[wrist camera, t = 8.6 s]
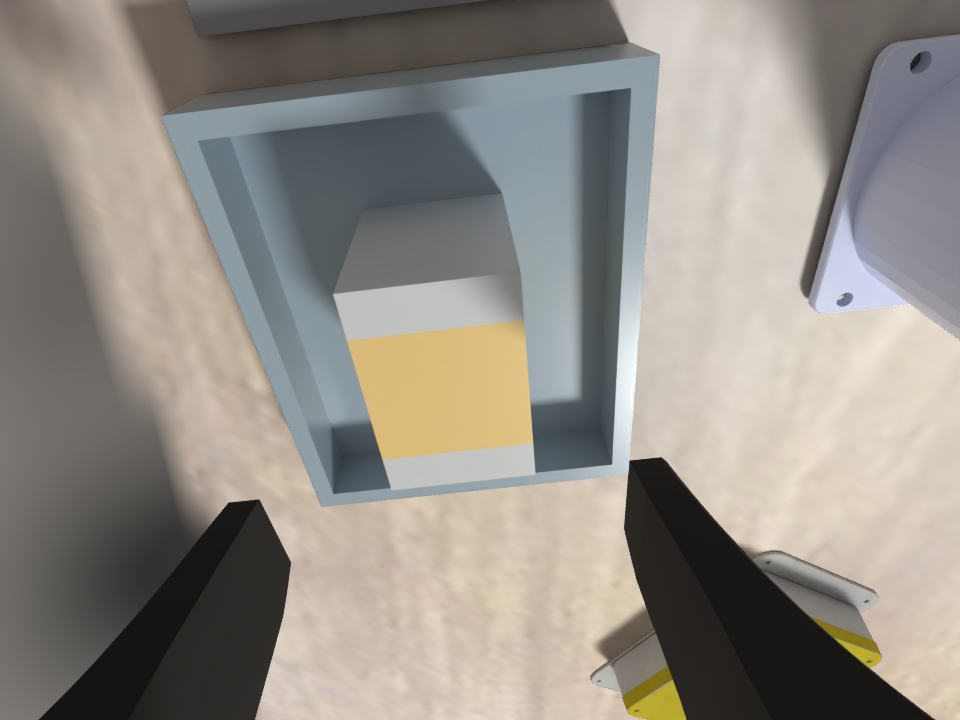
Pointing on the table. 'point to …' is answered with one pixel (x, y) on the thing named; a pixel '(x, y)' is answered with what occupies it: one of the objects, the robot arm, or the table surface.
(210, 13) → the fuse block
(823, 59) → the table surface
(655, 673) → the emergency button
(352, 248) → the block
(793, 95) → the table surface
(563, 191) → the parts tray
